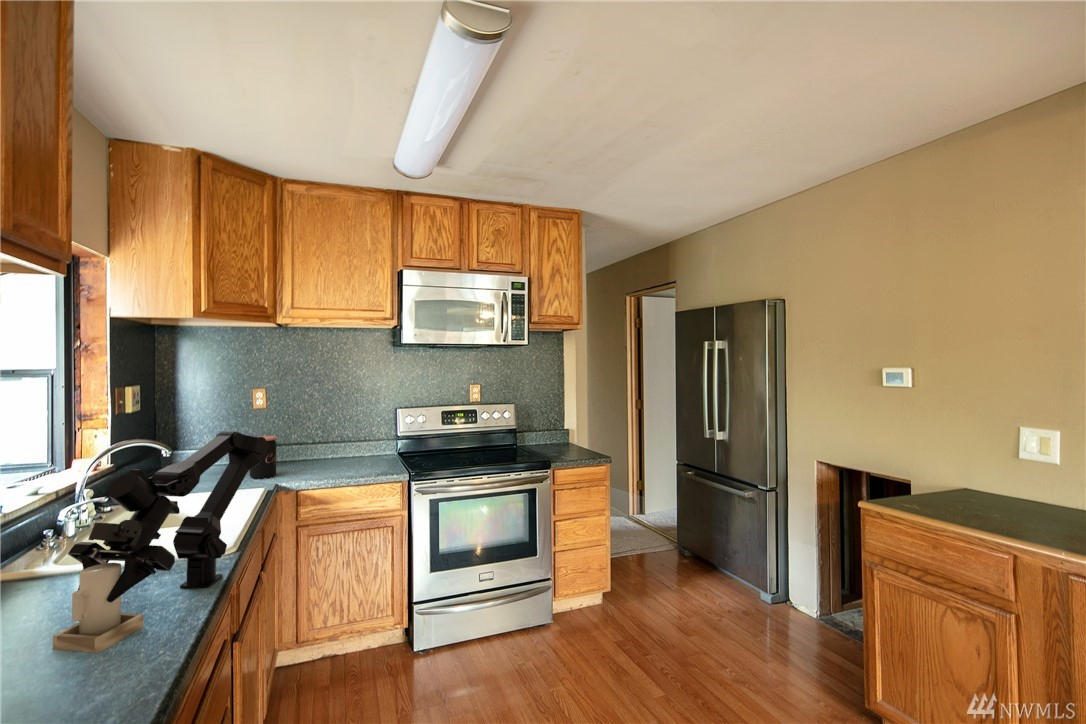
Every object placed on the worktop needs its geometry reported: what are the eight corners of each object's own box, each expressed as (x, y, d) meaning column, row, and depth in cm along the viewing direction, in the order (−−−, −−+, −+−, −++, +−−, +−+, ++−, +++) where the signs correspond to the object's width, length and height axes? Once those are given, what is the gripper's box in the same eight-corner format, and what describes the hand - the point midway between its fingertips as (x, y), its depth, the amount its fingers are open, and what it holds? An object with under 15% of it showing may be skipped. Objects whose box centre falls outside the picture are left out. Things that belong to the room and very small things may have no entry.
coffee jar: (268, 479, 231) (268, 439, 231) (244, 479, 231) (245, 439, 231) (280, 474, 242) (281, 436, 242) (258, 474, 242) (258, 435, 242)
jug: (101, 623, 101) (101, 562, 101) (128, 625, 101) (129, 563, 101) (59, 644, 94) (60, 578, 94) (89, 647, 93) (90, 580, 93)
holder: (101, 624, 103) (101, 611, 103) (143, 627, 102) (143, 614, 102) (52, 649, 94) (52, 635, 94) (98, 652, 93) (98, 638, 93)
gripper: (77, 501, 103) (15, 580, 92) (163, 505, 101) (110, 585, 90) (114, 528, 111) (60, 604, 100) (194, 532, 109) (148, 609, 98)
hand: (93, 600), depth 97 cm, fingers closed on jug, 6 cm apart
